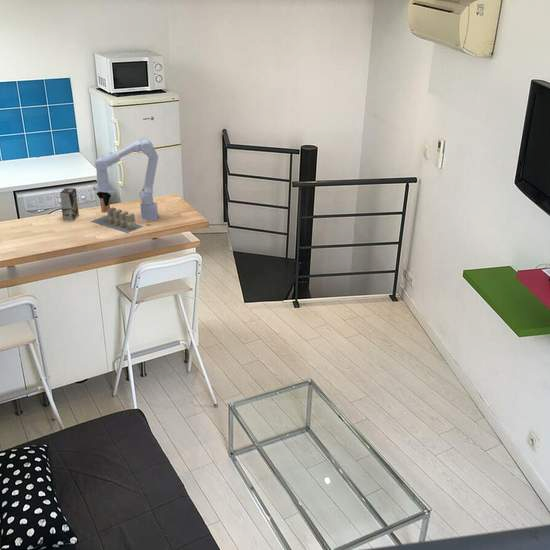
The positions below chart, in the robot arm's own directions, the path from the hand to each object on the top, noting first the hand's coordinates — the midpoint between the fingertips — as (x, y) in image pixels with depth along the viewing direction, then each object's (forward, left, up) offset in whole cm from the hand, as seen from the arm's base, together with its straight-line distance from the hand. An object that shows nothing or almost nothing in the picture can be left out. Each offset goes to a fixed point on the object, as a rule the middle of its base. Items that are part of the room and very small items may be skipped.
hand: (105, 205), depth 339 cm
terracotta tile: (0, 0, -4) cm, 4 cm away
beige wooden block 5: (-14, +12, -9) cm, 21 cm away
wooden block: (-11, +9, -9) cm, 17 cm away
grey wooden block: (-7, +6, -9) cm, 13 cm away
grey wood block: (-4, +3, -9) cm, 10 cm away
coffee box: (+20, -6, -10) cm, 23 cm away
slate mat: (-6, +5, -10) cm, 12 cm away
